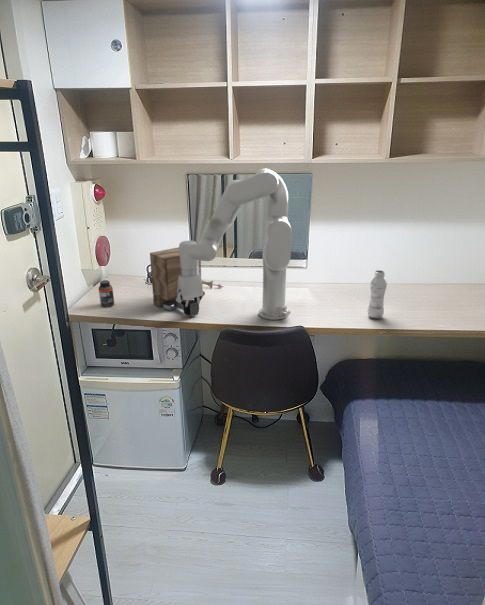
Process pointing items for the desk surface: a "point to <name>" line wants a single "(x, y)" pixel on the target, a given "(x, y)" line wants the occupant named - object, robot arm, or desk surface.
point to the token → (169, 306)
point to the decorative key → (211, 284)
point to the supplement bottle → (106, 294)
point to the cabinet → (165, 275)
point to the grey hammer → (192, 305)
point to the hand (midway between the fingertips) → (191, 312)
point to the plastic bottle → (377, 295)
